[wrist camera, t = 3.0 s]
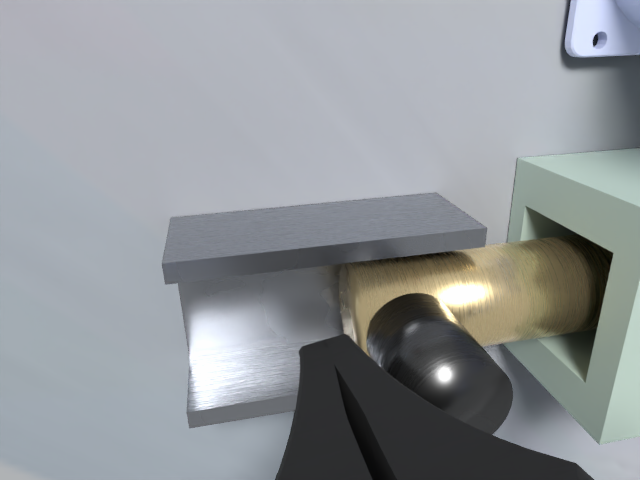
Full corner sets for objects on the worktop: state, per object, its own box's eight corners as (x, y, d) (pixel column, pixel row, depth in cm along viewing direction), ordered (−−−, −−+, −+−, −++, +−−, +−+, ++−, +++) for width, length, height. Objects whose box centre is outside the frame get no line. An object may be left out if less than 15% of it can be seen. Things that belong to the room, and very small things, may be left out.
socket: (640, 147, 19) (820, 194, 13) (602, 319, 21) (737, 417, 16) (517, 158, 18) (656, 213, 12) (495, 335, 20) (599, 444, 15)
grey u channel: (436, 192, 17) (486, 227, 14) (427, 324, 20) (470, 381, 16) (170, 217, 16) (161, 263, 13) (192, 358, 18) (189, 428, 15)
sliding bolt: (583, 218, 18) (760, 305, 12) (568, 296, 19) (722, 409, 13) (338, 245, 16) (409, 359, 11) (339, 329, 17) (403, 472, 12)
